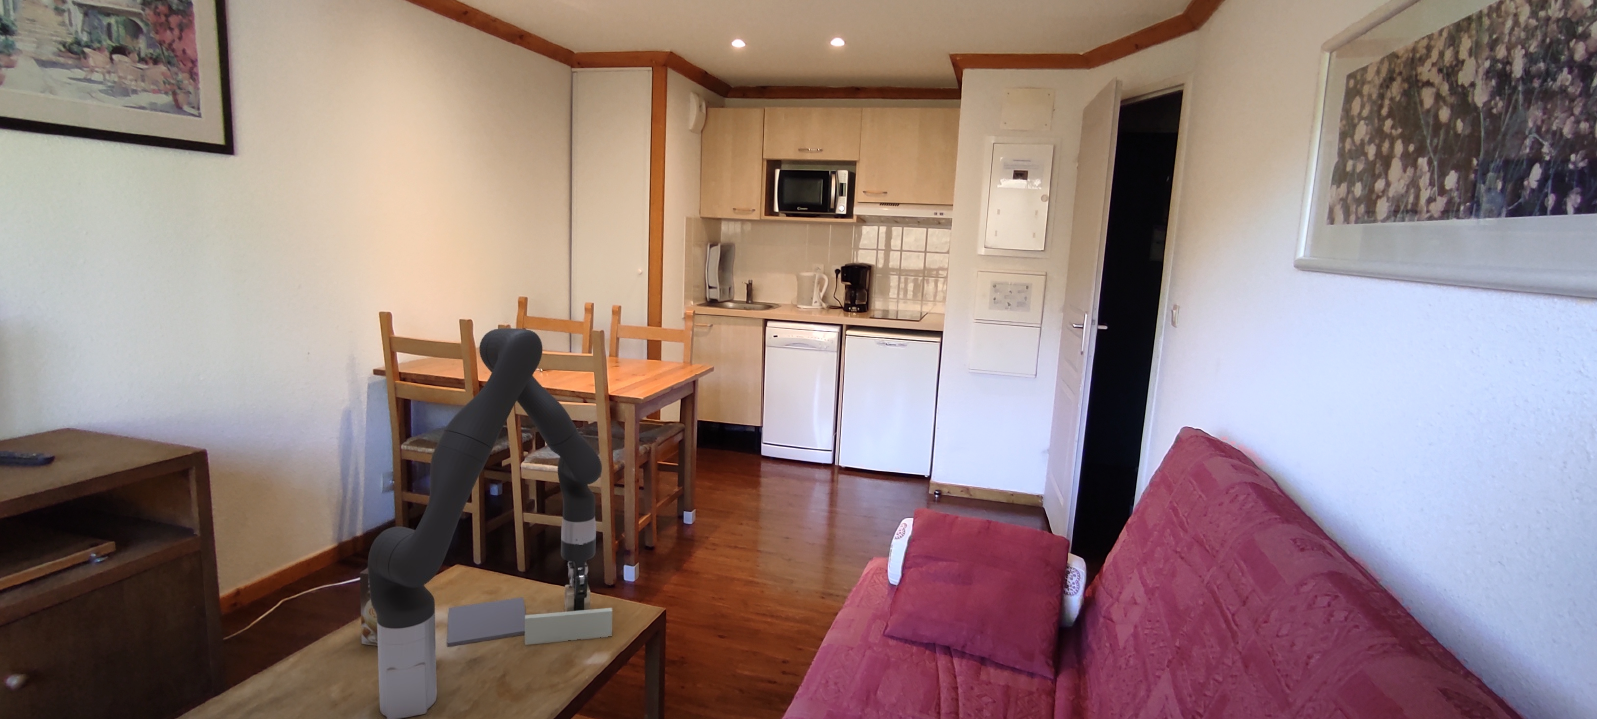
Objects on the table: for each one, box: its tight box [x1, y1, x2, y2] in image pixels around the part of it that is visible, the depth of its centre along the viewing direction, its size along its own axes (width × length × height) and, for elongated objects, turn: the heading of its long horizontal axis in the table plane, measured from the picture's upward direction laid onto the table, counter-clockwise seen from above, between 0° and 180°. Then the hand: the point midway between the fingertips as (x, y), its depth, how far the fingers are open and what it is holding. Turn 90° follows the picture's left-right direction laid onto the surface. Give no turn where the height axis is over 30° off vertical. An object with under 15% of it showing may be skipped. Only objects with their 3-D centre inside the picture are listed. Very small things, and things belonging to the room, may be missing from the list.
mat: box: [446, 597, 527, 648], centre depth 161 cm, size 16×16×1 cm
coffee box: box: [359, 566, 378, 647], centre depth 151 cm, size 9×6×16 cm
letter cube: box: [564, 584, 591, 612], centre depth 165 cm, size 5×5×5 cm
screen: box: [524, 607, 613, 646], centre depth 156 cm, size 2×18×6 cm, turn 107°
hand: (577, 605), depth 165 cm, fingers closed on letter cube, 5 cm apart
